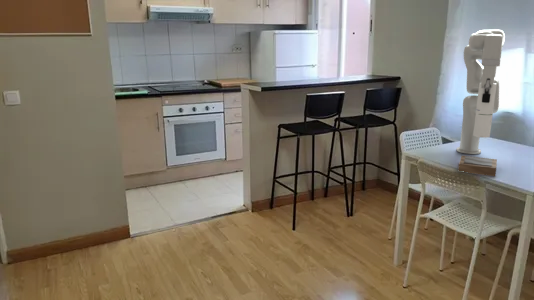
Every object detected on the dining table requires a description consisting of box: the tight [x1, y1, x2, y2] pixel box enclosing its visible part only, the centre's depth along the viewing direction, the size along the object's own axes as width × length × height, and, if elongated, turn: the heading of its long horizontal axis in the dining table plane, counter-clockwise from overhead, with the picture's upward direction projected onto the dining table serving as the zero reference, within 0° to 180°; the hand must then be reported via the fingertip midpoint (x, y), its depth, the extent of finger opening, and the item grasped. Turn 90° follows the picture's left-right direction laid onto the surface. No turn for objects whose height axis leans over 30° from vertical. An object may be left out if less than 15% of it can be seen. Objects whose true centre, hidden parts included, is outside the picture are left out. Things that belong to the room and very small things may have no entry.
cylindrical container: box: [473, 83, 497, 138], centre depth 197 cm, size 7×7×25 cm
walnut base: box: [457, 155, 498, 177], centre depth 204 cm, size 16×16×4 cm
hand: (485, 100), depth 196 cm, fingers closed on cylindrical container, 7 cm apart
